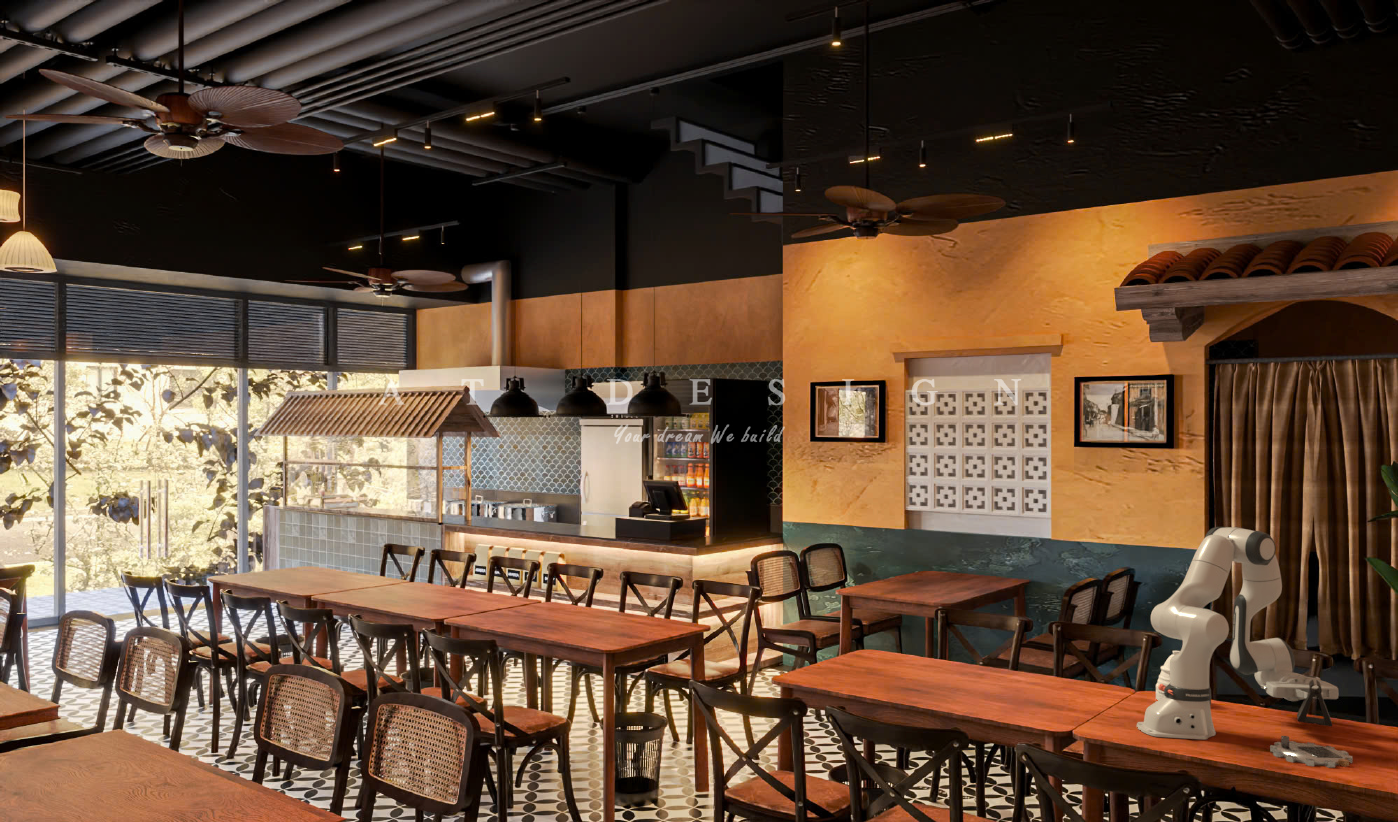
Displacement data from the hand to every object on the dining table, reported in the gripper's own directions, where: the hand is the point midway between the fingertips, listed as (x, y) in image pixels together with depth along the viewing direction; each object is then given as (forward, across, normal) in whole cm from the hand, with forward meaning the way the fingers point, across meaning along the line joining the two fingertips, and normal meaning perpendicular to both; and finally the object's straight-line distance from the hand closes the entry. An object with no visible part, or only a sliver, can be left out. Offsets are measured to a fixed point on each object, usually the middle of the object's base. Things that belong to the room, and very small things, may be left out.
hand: (1315, 696), depth 311 cm
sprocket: (+19, -12, +13) cm, 26 cm away
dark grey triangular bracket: (+1, -1, +8) cm, 8 cm away
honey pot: (-44, -23, +13) cm, 51 cm away
